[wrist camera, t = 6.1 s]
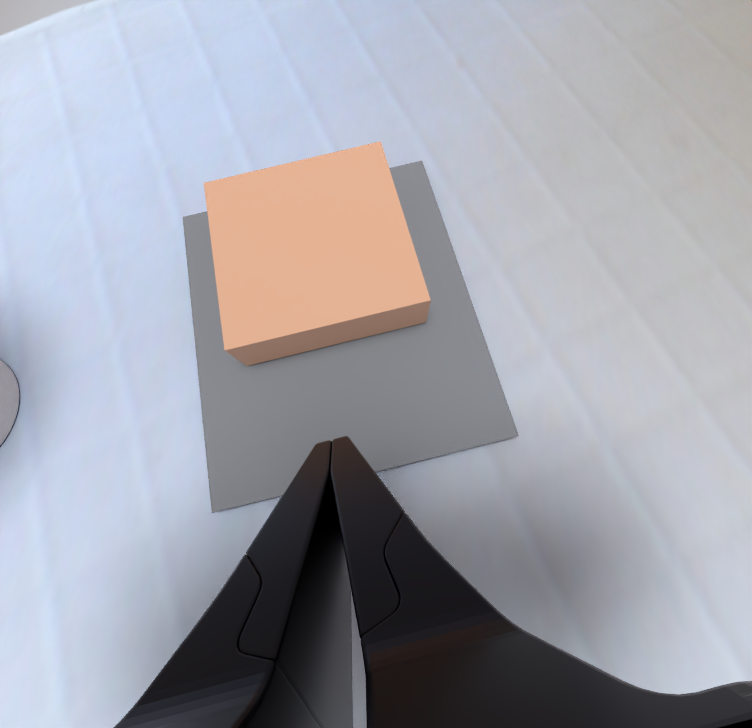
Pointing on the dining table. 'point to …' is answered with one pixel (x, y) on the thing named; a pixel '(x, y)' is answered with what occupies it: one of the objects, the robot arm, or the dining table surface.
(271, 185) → the tile
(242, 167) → the dining table surface
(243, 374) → the mat
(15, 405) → the coffee cup
